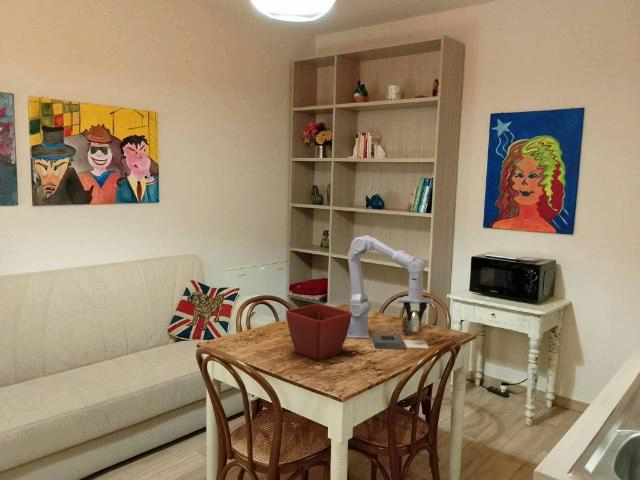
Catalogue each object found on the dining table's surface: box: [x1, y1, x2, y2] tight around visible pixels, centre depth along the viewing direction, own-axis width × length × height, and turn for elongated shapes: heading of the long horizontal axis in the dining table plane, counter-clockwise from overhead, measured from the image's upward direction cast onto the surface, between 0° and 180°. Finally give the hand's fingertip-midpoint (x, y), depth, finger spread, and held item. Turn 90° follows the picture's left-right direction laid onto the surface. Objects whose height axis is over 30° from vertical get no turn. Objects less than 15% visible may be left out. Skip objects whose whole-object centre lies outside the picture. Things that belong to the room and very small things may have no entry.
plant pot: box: [285, 303, 352, 361], centre depth 202 cm, size 19×19×17 cm
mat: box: [403, 339, 430, 349], centre depth 216 cm, size 9×9×1 cm
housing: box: [371, 333, 405, 350], centre depth 216 cm, size 12×12×2 cm
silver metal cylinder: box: [409, 309, 420, 333], centre depth 215 cm, size 4×4×8 cm
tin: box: [401, 315, 422, 336], centre depth 234 cm, size 15×3×8 cm, turn 143°
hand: (414, 320), depth 215 cm, fingers closed on silver metal cylinder, 4 cm apart
